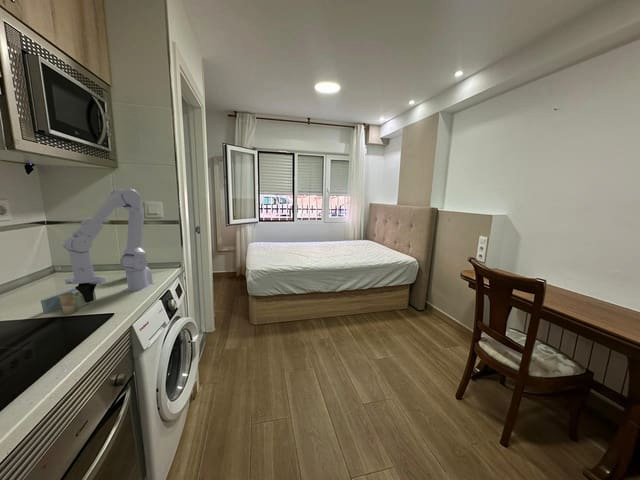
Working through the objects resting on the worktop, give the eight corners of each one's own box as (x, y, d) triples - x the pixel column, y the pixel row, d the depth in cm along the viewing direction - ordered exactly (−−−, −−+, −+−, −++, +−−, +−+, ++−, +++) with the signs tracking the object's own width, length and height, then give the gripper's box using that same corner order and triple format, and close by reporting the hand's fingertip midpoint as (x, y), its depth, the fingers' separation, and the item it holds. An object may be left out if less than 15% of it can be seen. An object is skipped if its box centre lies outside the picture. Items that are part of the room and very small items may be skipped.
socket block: (79, 299, 103) (77, 290, 102) (96, 299, 102) (94, 290, 102) (60, 307, 96) (58, 297, 95) (78, 307, 95) (76, 297, 95)
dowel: (71, 310, 93) (67, 292, 92) (79, 310, 93) (75, 292, 92) (61, 315, 90) (56, 296, 89) (69, 315, 90) (65, 296, 88)
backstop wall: (81, 297, 105) (79, 285, 104) (85, 297, 105) (83, 285, 104) (43, 313, 92) (40, 300, 91) (47, 313, 92) (44, 300, 91)
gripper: (53, 271, 93) (61, 305, 95) (90, 270, 92) (97, 306, 94) (72, 265, 100) (79, 298, 102) (107, 265, 99) (114, 298, 101)
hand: (89, 301), depth 99 cm, fingers closed
